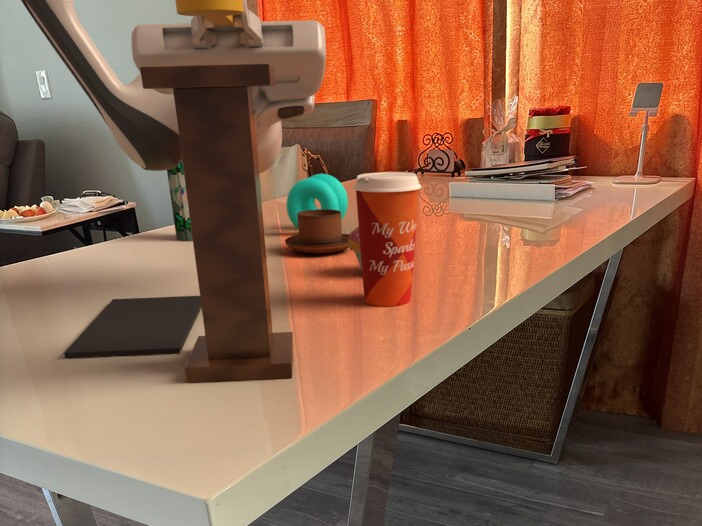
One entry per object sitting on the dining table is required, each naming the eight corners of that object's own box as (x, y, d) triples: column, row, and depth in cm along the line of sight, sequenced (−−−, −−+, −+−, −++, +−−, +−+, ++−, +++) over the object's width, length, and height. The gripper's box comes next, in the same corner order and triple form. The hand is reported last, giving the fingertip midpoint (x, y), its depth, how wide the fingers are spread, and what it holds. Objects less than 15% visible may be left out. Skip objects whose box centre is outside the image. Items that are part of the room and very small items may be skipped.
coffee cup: (378, 312, 87) (377, 180, 80) (344, 298, 94) (340, 174, 86) (433, 301, 91) (436, 174, 84) (396, 289, 97) (397, 169, 90)
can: (176, 241, 132) (164, 153, 125) (176, 236, 137) (164, 150, 130) (210, 239, 133) (199, 151, 126) (208, 234, 139) (198, 149, 131)
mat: (64, 358, 75) (63, 352, 75) (113, 303, 94) (112, 299, 94) (179, 353, 75) (179, 347, 75) (205, 299, 95) (204, 295, 94)
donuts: (350, 227, 142) (348, 173, 137) (337, 236, 133) (335, 179, 128) (302, 226, 144) (299, 173, 139) (286, 235, 135) (282, 178, 130)
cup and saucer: (279, 247, 125) (276, 210, 122) (344, 241, 128) (343, 205, 125) (295, 260, 115) (292, 220, 112) (365, 254, 118) (364, 215, 115)
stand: (186, 383, 68) (139, 66, 55) (200, 349, 76) (162, 69, 64) (292, 378, 68) (269, 63, 56) (293, 345, 77) (274, 67, 64)
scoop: (200, 27, 74) (196, -1, 72) (254, 25, 74) (252, -3, 73) (172, 11, 58) (167, -25, 57) (241, 9, 58) (238, -27, 57)
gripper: (146, 63, 82) (110, -24, 68) (324, 58, 83) (323, -28, 69) (149, 117, 82) (113, 41, 68) (327, 112, 83) (327, 36, 69)
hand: (221, 6), depth 69 cm, fingers closed on scoop, 2 cm apart
